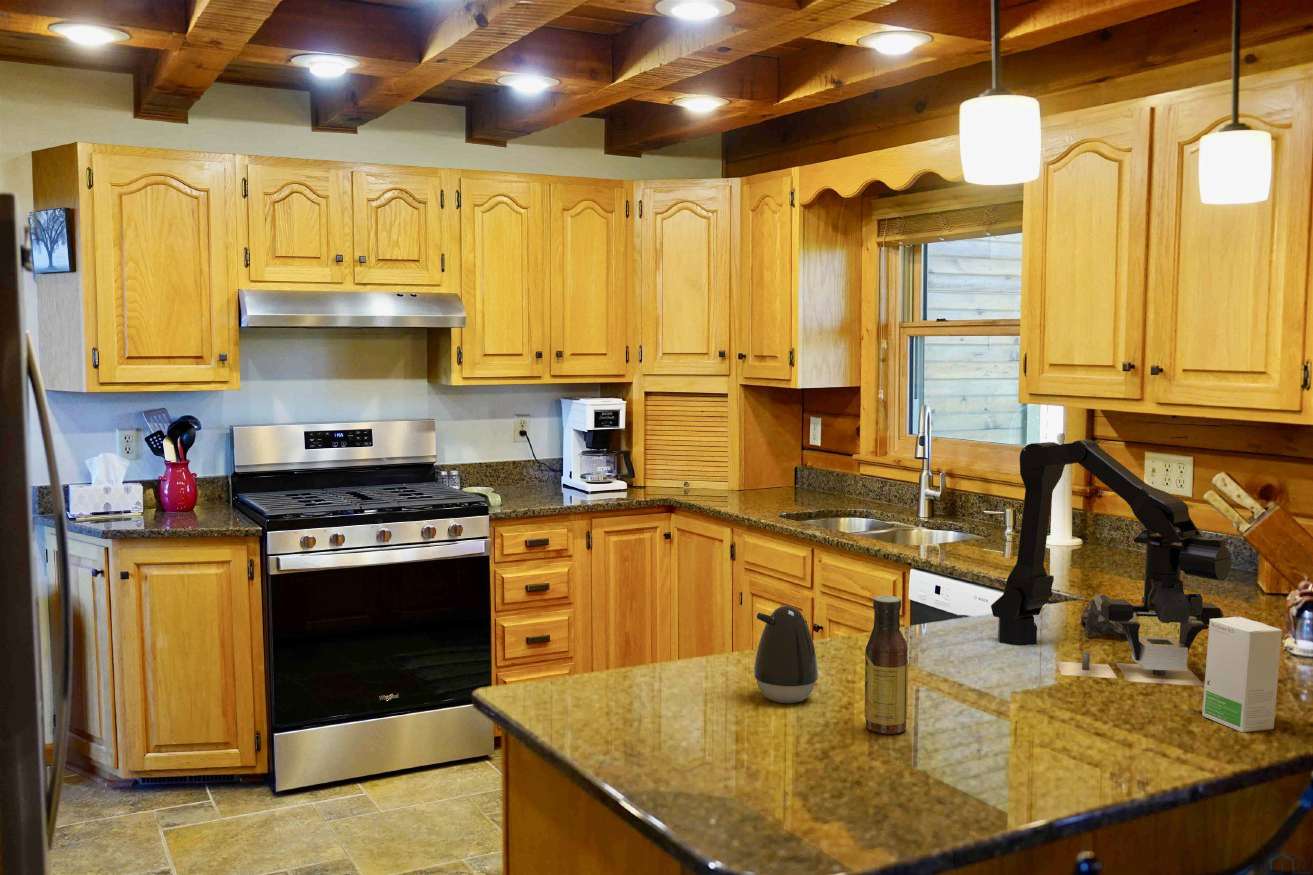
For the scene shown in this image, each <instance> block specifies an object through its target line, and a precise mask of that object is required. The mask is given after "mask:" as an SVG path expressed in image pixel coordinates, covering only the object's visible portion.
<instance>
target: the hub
mask: <svg viewBox="0 0 1313 875" xmlns="http://www.w3.org/2000/svg"><path fill="white" fill-rule="evenodd" d="M1115 664H1116V666H1117V667H1118V668H1119V670H1120V672H1121V673H1122V674H1123V675H1124V677H1125V678H1126V680H1127V681H1128V682H1130V683H1131V682H1133V683H1147V684H1148V683H1149V684H1164V685H1178V686H1180V685H1181V686H1193V687H1194V686H1196V687H1204V686H1205V683H1203V682H1202V681H1201V680H1200V679H1199V678H1198V677H1197V675H1196V674H1195V673H1193V672H1192V670H1191V669H1190V668H1189V667H1188V666H1187V671H1174V670H1150V669H1143V668H1142V667H1141V666H1140V665H1138V664H1137V663H1123V662H1116V663H1115Z"/></svg>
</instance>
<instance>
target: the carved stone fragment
mask: <svg viewBox="0 0 1313 875" xmlns="http://www.w3.org/2000/svg"><path fill="white" fill-rule="evenodd" d="M1104 599H1111V598H1110V597H1109V596H1108V595H1106V594H1103V593H1100V594H1096V595H1094V596H1093V597H1092V599H1091V600H1090V602H1089V603H1088V605H1087V606H1086V607H1085V609H1084V610H1083V611H1082V612H1081V615H1080V625H1081V626H1082V627H1083V628H1084V635H1085V638H1086V637H1089V638H1093V637H1095V636H1106V635H1107V634H1111V635H1115V636H1116V637H1118V638H1121V639H1123V640H1127V639H1128V638H1127V635H1126V633H1125V631H1124V629H1123V627H1122V625H1120V624H1119V623H1118V622H1117V621H1110V620H1108V619H1106V618H1105V617H1104V616H1103V615H1102V614H1101V603H1102V602H1103V601H1104Z"/></svg>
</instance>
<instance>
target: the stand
mask: <svg viewBox="0 0 1313 875" xmlns="http://www.w3.org/2000/svg"><path fill="white" fill-rule="evenodd" d="M1090 659H1091V653H1088V652H1083V653H1082V658H1081V660H1082V661H1081V662H1071V661H1069V662H1068V661H1058V660H1057V661H1054V662H1055V664H1056V666H1057V668H1058V670H1059V672H1060V673H1061V675H1062V676H1072V677H1074V676H1075V677H1089V678H1090V677H1091V678H1104V679H1105V678H1107V679H1118V676H1117V675H1116V673H1115V672H1114V671H1113V669H1112V668H1111V666H1110V665H1109V664H1105V663H1104V664H1103V663H1090Z"/></svg>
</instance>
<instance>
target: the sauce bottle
mask: <svg viewBox="0 0 1313 875" xmlns="http://www.w3.org/2000/svg"><path fill="white" fill-rule="evenodd" d="M872 602H873V603H872V606H873V610H874V612H873V613H874V616H873V617H874V619H873V628H872V630H871V633H870V636H869V638H868V642H867V644H866V646H865V650H864V651H865V652H864V654H865V655H864V656H865V657H864V660H865V661H864V662H865V663H864V718H865V727H866V728H867V730H869V731H872V732H875V733H878V734H884V735H889V736H890V735H896V734H901V733H903V732H904V731H906V729H907V719H908V700H909V699H908V698H909V697H908V694H909V692H908V690H909V688H908V687H909V682H908V681H909V660H908V642H907V641H906V638H905V637H904V635H903V633H902V631H901V629H900V628H901V623H900V620H901V618H900V616H901V615H900V614H901V613H900V612H901V608H902V598H900V597H899V596H898V597H897V596H895V595H894V596H892V595H880V596H879V595H878V596H875V597H874V598H873V601H872Z"/></svg>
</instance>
